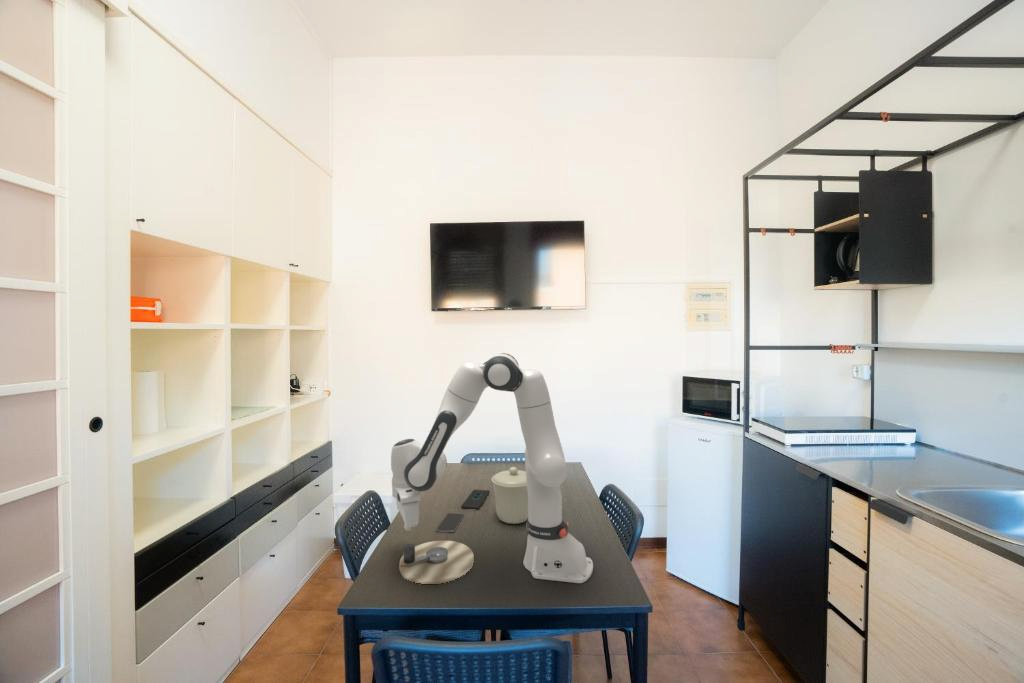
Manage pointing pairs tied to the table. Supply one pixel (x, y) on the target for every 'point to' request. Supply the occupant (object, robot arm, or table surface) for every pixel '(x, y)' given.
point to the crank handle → (432, 555)
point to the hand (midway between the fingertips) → (407, 529)
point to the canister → (511, 495)
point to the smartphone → (450, 522)
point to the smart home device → (475, 499)
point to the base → (439, 564)
